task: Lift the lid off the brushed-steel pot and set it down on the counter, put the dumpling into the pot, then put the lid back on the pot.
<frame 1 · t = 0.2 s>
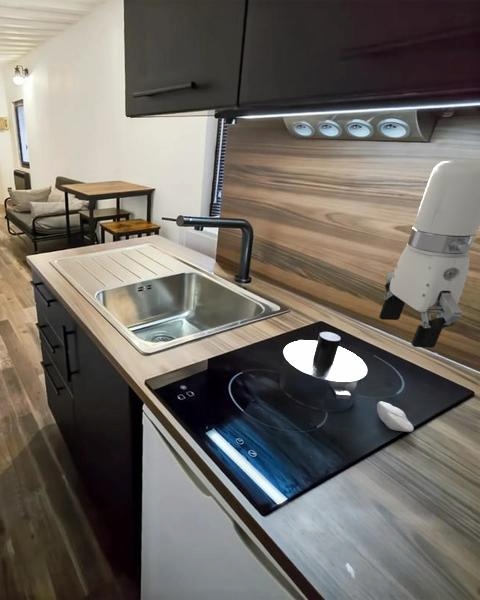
hand: (404, 331, 66), 17 cm above the worktop, tool pointing down, fingers open, 9 cm apart
lid: (322, 361, 75), point 7 cm above the worktop, touching pot
dumpling: (391, 425, 69), on the worktop
pot: (314, 390, 78), on the worktop
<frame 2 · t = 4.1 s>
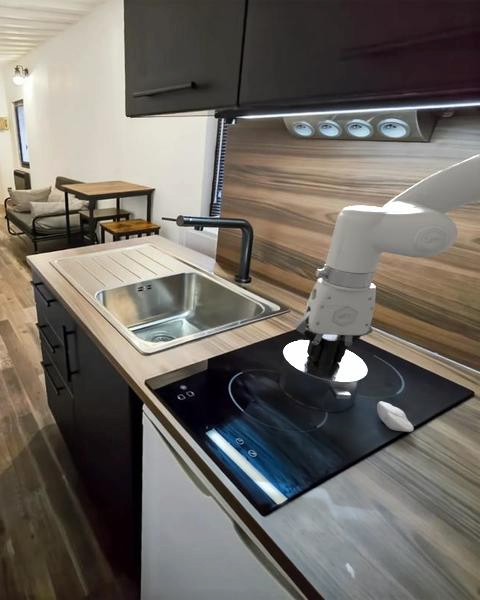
hand: (323, 357, 75), 8 cm above the worktop, tool pointing down, fingers closed on lid, 3 cm apart
lid: (322, 361, 75), point 8 cm above the worktop, touching gripper, pot
everything else where it was.
when the fingers open (2 cm above the worktop, at t = 11.2 s): lid stays where it is, point 1 cm above the worktop.
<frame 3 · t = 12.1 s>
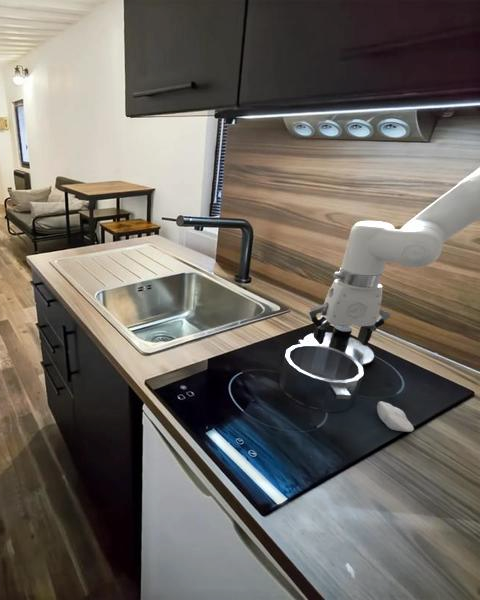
hand: (339, 341, 89), 3 cm above the worktop, tool pointing down, fingers open, 9 cm apart
lid: (336, 349, 90), point 1 cm above the worktop
everything else where it was.
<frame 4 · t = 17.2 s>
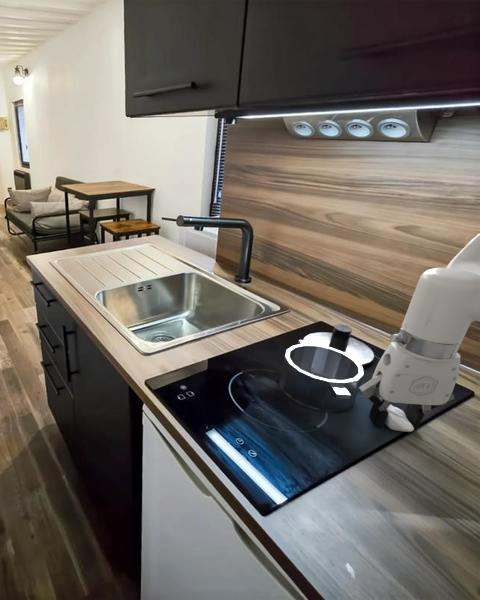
hand: (392, 423, 68), 0 cm above the worktop, tool pointing down, fingers closed on dumpling, 4 cm apart
dumpling: (391, 425, 69), on the worktop, touching gripper
everything else where it was.
when the fingers open (5 cm above the worktop, at t = 23.1 s): dumpling drops 2 cm, resting on pot.
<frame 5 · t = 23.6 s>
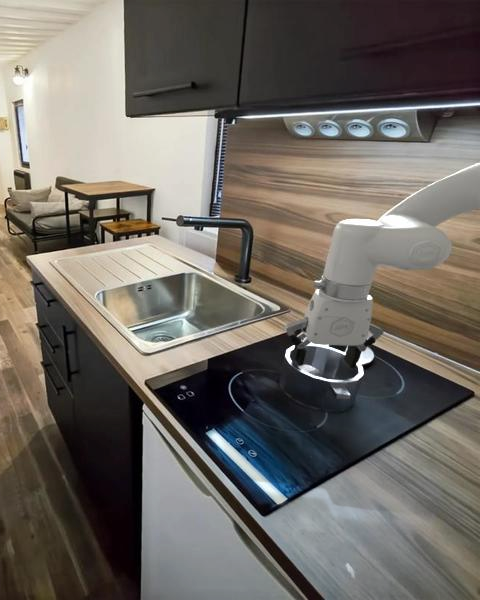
hand: (323, 362, 75), 7 cm above the worktop, tool pointing down, fingers open, 9 cm apart
dumpling: (311, 380, 78), point 2 cm above the worktop, touching pot
everything else where it was.
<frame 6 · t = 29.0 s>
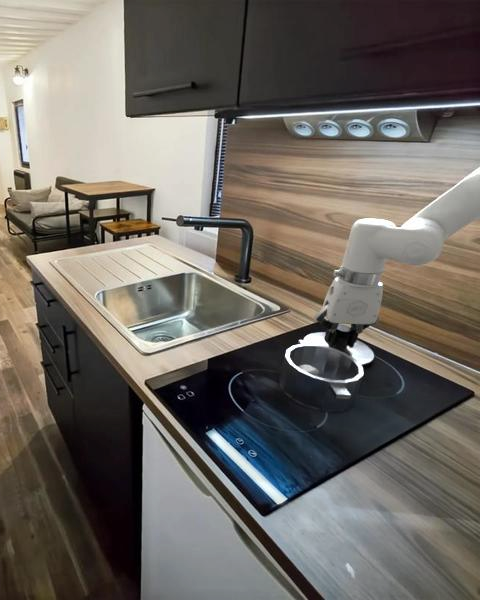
hand: (338, 343, 90), 2 cm above the worktop, tool pointing down, fingers closed on lid, 3 cm apart
lid: (336, 349, 90), point 1 cm above the worktop, touching gripper
everything else where it was.
when the fingers open (9 cm above the worktop, at t = 36.7 s): lid stays where it is, resting on dumpling, pot.
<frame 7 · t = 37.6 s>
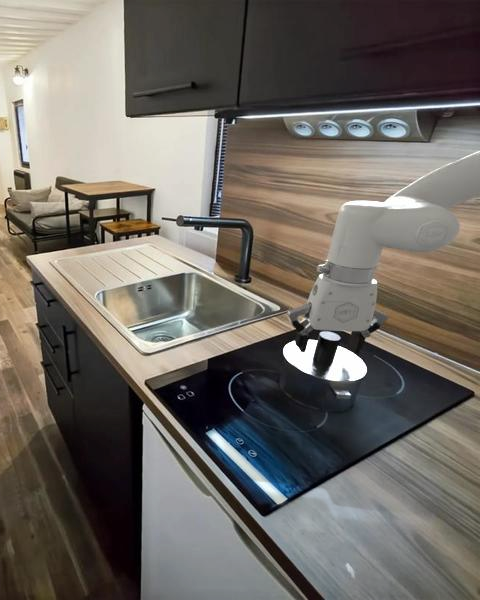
hand: (326, 349, 74), 10 cm above the worktop, tool pointing down, fingers open, 9 cm apart
lid: (322, 361, 75), point 8 cm above the worktop, touching dumpling, pot
dumpling: (311, 380, 78), point 2 cm above the worktop, touching lid, pot
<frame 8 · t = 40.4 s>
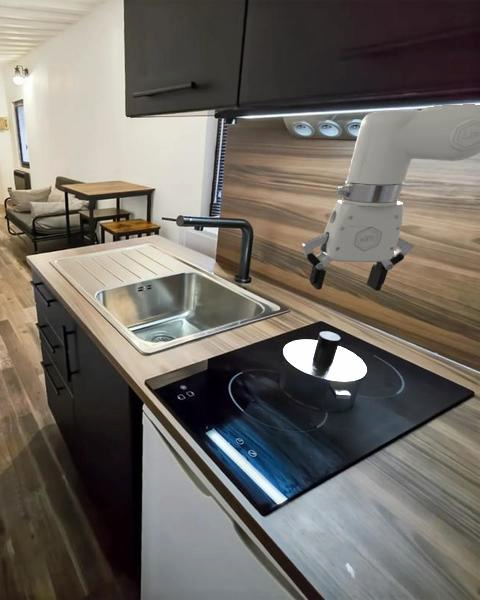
hand: (344, 287, 68), 24 cm above the worktop, tool pointing down, fingers open, 9 cm apart
nothing on the worktop moved.
at the end: dumpling inside the target area in the pot (0.9 cm from its centre), point 2.3 cm above the pot's base; lid 0.1 cm off-centre on the pot, point 7.6 cm above the pot's base; lid tilted 1° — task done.
